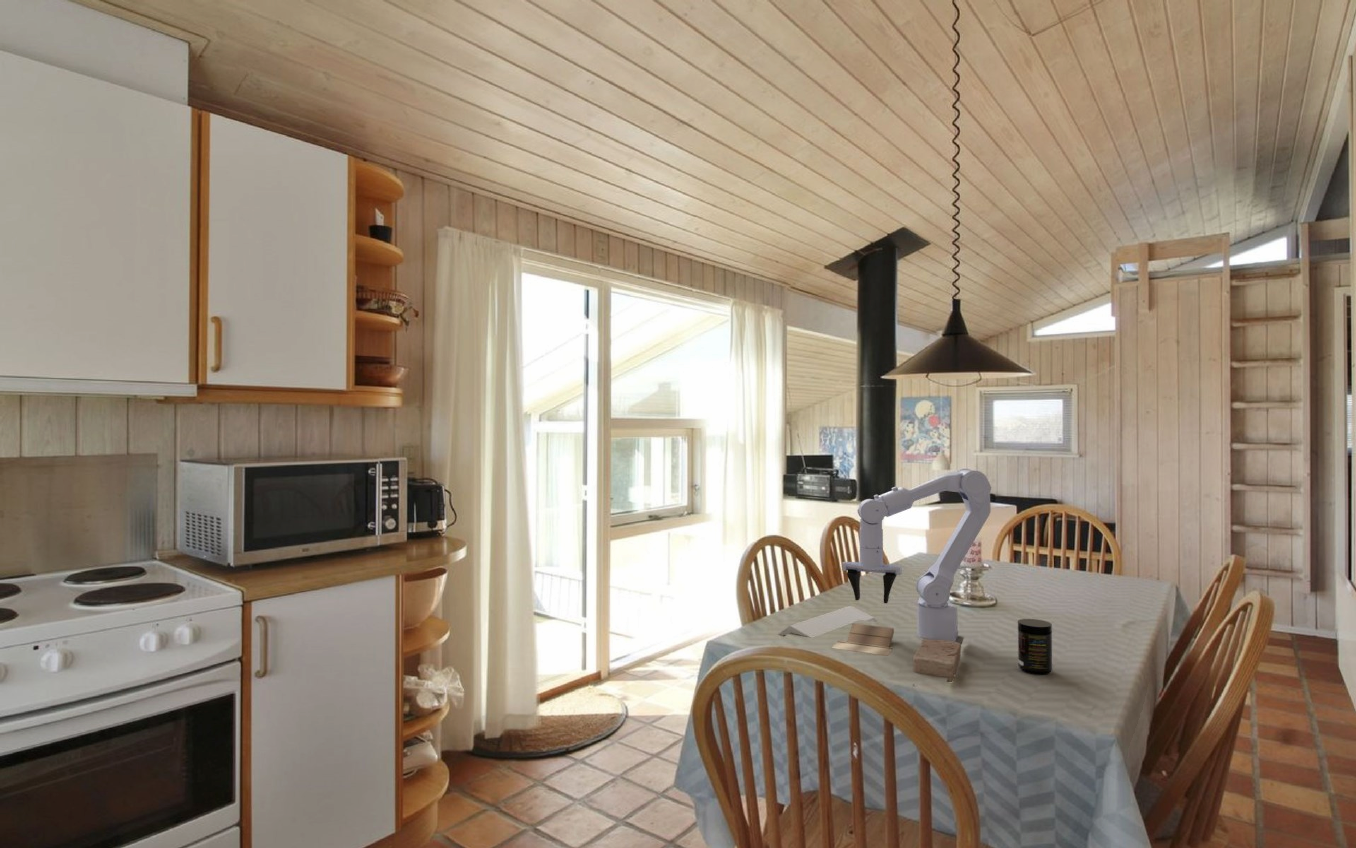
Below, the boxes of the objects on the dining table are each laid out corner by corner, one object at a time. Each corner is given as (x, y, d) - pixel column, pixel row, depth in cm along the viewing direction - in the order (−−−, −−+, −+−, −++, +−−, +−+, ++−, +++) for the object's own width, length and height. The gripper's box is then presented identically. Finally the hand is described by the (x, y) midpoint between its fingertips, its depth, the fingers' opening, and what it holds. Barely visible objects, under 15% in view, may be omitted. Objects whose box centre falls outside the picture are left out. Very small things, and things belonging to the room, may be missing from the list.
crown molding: (817, 646, 177) (817, 631, 178) (777, 636, 186) (777, 622, 186) (876, 623, 198) (876, 610, 198) (837, 616, 207) (837, 603, 207)
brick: (953, 685, 149) (953, 662, 150) (911, 678, 153) (911, 656, 153) (961, 662, 164) (961, 641, 164) (922, 657, 168) (922, 637, 168)
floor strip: (892, 653, 170) (892, 647, 170) (887, 660, 164) (887, 654, 164) (838, 646, 175) (837, 640, 175) (831, 653, 170) (831, 647, 170)
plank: (893, 632, 176) (893, 628, 176) (889, 651, 171) (888, 647, 170) (853, 627, 181) (852, 623, 180) (846, 646, 175) (846, 641, 175)
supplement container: (1059, 675, 154) (1058, 626, 154) (1029, 676, 153) (1028, 627, 154) (1040, 665, 161) (1040, 618, 161) (1011, 666, 160) (1011, 619, 160)
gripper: (903, 546, 182) (904, 600, 182) (846, 543, 189) (846, 594, 189) (898, 551, 176) (899, 606, 176) (839, 546, 183) (840, 600, 183)
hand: (871, 601), depth 182 cm, fingers open, 6 cm apart
